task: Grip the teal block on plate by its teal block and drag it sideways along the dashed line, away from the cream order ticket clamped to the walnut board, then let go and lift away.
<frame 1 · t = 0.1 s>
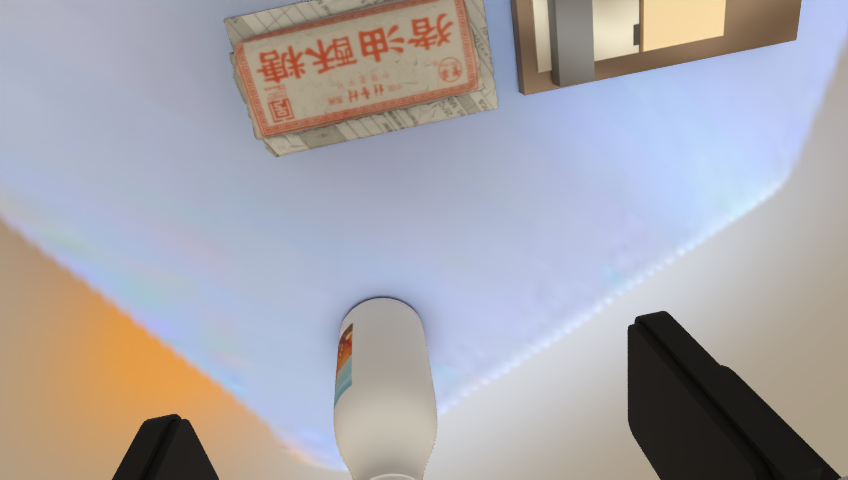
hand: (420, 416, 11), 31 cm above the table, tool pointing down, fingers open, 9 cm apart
milk bottle: (381, 329, 47), on the table
packaged product: (368, 64, 38), on the table
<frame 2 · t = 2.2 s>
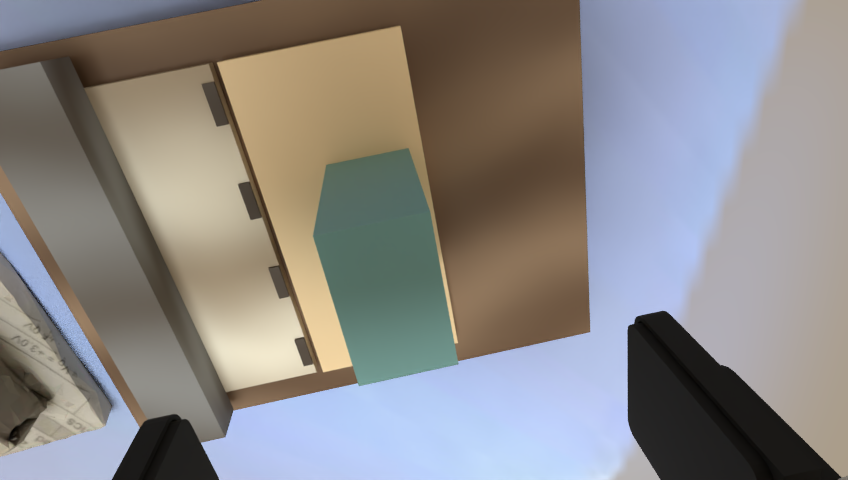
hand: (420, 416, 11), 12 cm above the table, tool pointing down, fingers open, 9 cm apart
teal block on plate: (356, 258, 17), point 5 cm above the table, slide at 0.0 cm
ticket board: (325, 210, 21), on the table
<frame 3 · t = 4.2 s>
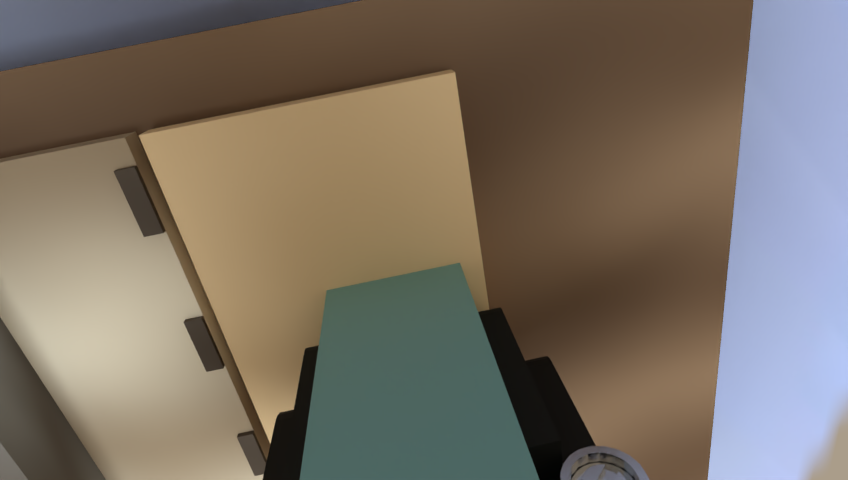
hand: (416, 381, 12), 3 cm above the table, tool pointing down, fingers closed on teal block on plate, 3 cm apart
teal block on plate: (375, 467, 10), point 5 cm above the table, slide at 0.0 cm, touching gripper
ticket board: (326, 333, 14), on the table
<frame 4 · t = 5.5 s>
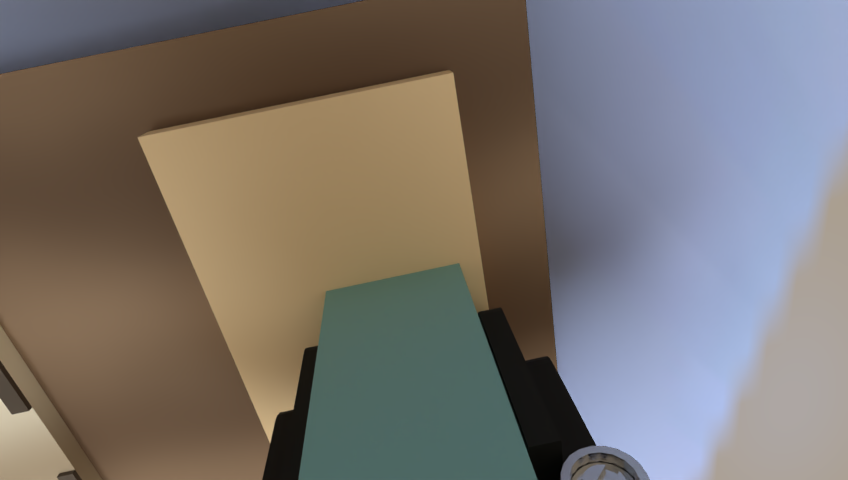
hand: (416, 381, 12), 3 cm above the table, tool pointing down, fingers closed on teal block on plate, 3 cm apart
teal block on plate: (375, 467, 10), point 5 cm above the table, slide at 4.6 cm, touching gripper
ticket board: (166, 368, 14), on the table
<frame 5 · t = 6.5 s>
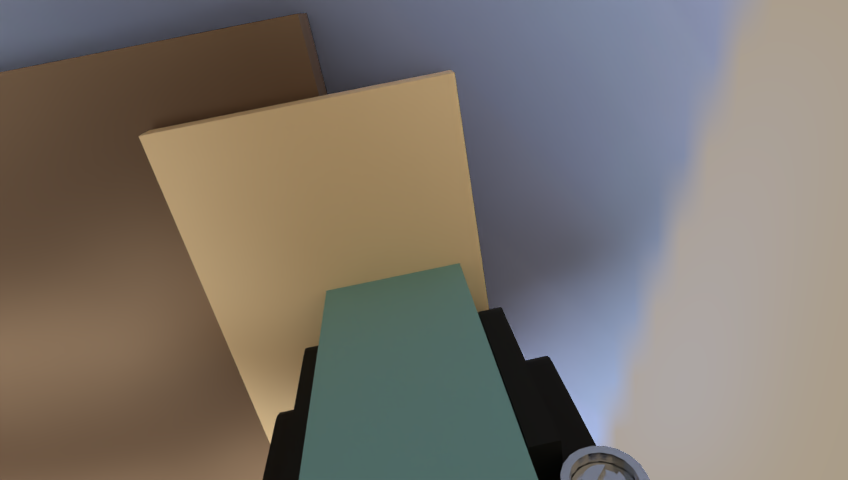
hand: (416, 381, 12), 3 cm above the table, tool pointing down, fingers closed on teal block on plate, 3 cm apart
teal block on plate: (374, 467, 10), point 5 cm above the table, slide at 8.8 cm, touching gripper
ticket board: (12, 400, 14), on the table
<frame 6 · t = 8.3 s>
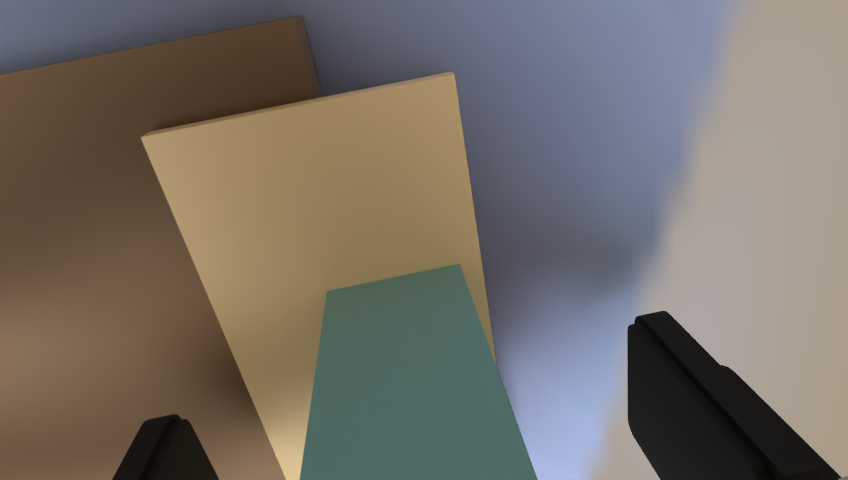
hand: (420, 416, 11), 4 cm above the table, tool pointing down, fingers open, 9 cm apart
teal block on plate: (375, 466, 10), point 5 cm above the table, slide at 9.0 cm
ticket board: (9, 400, 14), on the table
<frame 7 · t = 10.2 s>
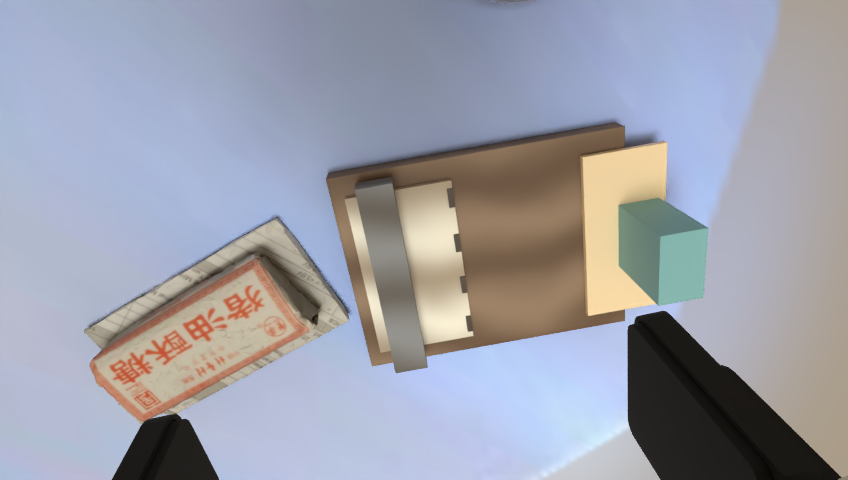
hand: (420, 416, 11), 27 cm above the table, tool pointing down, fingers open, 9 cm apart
teal block on plate: (642, 250, 35), point 5 cm above the table, slide at 9.0 cm
ticket board: (484, 247, 39), on the table
packaged product: (224, 315, 41), on the table
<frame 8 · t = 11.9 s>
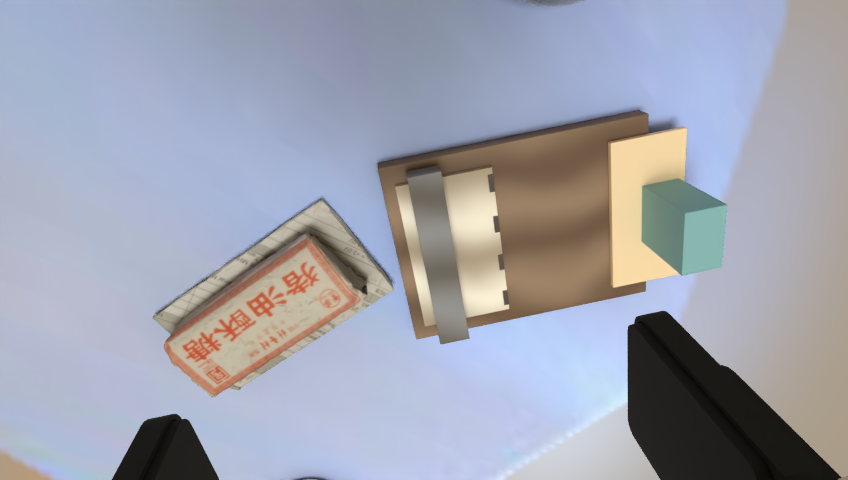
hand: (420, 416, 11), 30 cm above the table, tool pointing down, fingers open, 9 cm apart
teal block on plate: (665, 226, 39), point 5 cm above the table, slide at 9.0 cm
ticket board: (518, 228, 43), on the table
packaged product: (277, 294, 44), on the table
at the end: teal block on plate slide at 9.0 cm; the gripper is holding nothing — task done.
